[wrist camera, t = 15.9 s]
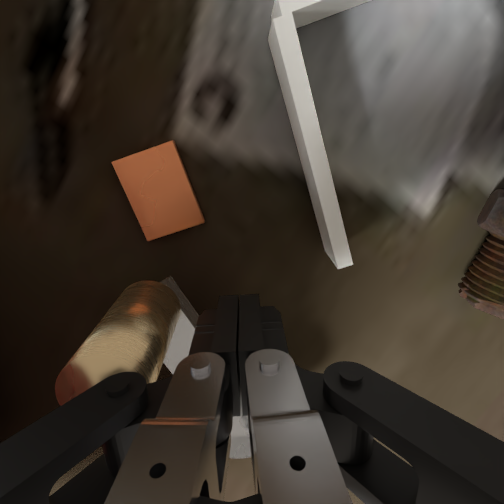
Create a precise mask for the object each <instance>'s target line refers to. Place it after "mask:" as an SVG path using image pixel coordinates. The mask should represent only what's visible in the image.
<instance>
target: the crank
mask: <svg viewBox="0 0 504 504" xmlns="http://www.w3.org/2000/svg"><path fill="white" fill-rule="evenodd" d="M198 317H199V315H198V313H197V312H196V310H195V309H194V308H193V306H192V305H191V303H190V302H189V300H188V299H187V298H186V296H185V295H184V293H183V292H182V291H181V289H180V288H179V286H178V285H177V283H176V282H175V281H174V279H173V278H172V276H169V277H167V278H165V279H164V280H162V281H160V282H157V281H153V280H142V281H137V282H135V283H132V284H131V285H129V286H128V287H127V288H126V289H125V290H124V291H123V292H122V294H121V295H120V296H119V297H118V299H117V300H116V301H115V303H114V304H113V305H112V306H111V308H110V309H109V310H108V312H107V313H106V314H105V315H104V317H103V318H102V319H101V321H100V322H99V323H98V324H97V326H96V327H95V328H94V329H93V331H92V332H91V333H90V335H89V336H88V337H87V338H86V340H85V341H84V342H83V344H82V345H81V346H80V347H79V349H78V350H77V351H76V353H75V354H74V355H73V356H72V358H71V359H70V360H69V361H68V363H67V364H66V365H65V367H64V368H63V369H62V370H61V372H60V373H59V375H58V377H57V379H56V383H55V395H56V398H57V401H58V403H59V405H60V406H62V405H63V404H65V403H66V402H68V401H70V400H71V399H73V398H75V397H76V396H78V395H79V394H81V393H83V392H84V391H86V390H87V389H89V388H91V387H92V386H94V385H96V384H97V383H99V382H100V381H102V380H104V379H105V378H107V377H109V376H111V375H114V374H117V373H121V372H136V373H139V374H141V375H142V376H144V378H145V380H146V384H149V383H152V382H156V381H157V378H158V375H159V373H160V370H161V367H162V364H163V363H164V364H165V365H166V367H167V368H168V369H169V370H170V372H171V373H172V374H174V372H175V369H176V367H177V365H178V364H179V362H180V361H181V360H183V359H184V358H186V357H187V356H188V355H189V351H190V347H191V343H192V339H193V335H194V332H195V328H196V324H197V320H198ZM248 457H251V451H250V441H249V425H248V416H243V414H242V400H241V409H240V416H234V417H233V424H232V431H231V448H230V455H229V458H248Z"/></svg>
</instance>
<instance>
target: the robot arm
mask: <svg viewBox="0 0 504 504" xmlns="http://www.w3.org/2000/svg"><path fill="white" fill-rule="evenodd" d="M241 400H242V414H243V416H248V425H249V441H250V451H251V460H252V470H253V480H254V489H255V495H253V496H250V497H247V498H244V499H241V500H238V501H234V502H225V501H224V495H225V487H226V479H227V471H228V463H229V455H230V448H231V431H232V424H233V417H234V416H240V409H241ZM374 437H375V438H376V439H378V440H379V441H380V442H382V443H383V444H385V445H386V446H387V447H389V448H390V449H392V450H393V451H394V452H396V453H397V454H399V455H400V456H401V457H403V458H404V459H405V460H407V461H408V462H409V463H410V464H411V465H412V466H410V465H409V464H407V463H406V462H405V461H403V460H402V459H400V458H399V457H398V456H396V455H395V454H393V453H392V452H391V451H389V450H388V449H386V448H385V447H384V446H382V445H381V444H379V443H378V442H377V441H375V440H374V439H373V438H374ZM101 445H102V448H103V452H104V454H102V455H101V456H100V457H99V458H97V459H96V460H95V461H94V462H92V463H91V464H90V465H89V466H87V467H86V468H85V469H84V470H82V471H81V472H80V473H79V474H77V475H76V476H75V477H74V478H72V479H71V480H70V481H69V482H67V483H66V484H65V485H64V486H62V487H61V488H60V489H59V490H57V491H56V492H55V493H54V494H52V495H51V496H49V493H50V491H51V489H52V487H53V485H54V484H55V482H56V481H57V480H58V479H59V478H60V477H61V476H62V475H64V474H65V473H66V472H67V471H69V470H70V469H71V468H73V467H74V466H75V465H76V464H78V463H79V462H80V461H82V460H83V459H84V458H86V457H87V456H88V455H89V454H91V453H92V452H93V451H95V450H96V449H97V448H98V447H100V446H101ZM347 488H348V489H349V490H350V491H352V492H353V493H354V494H355V495H356V496H357V497H358V498H359V499H360V500H362V501H363V502H364V503H365V504H504V442H503V441H501V440H499V439H497V438H495V437H493V436H492V435H490V434H488V433H486V432H484V431H482V430H481V429H479V428H477V427H475V426H473V425H471V424H470V423H468V422H466V421H464V420H462V419H461V418H459V417H457V416H455V415H453V414H451V413H450V412H448V411H446V410H444V409H442V408H440V407H439V406H437V405H435V404H433V403H431V402H429V401H428V400H426V399H424V398H422V397H420V396H418V395H417V394H415V393H413V392H411V391H409V390H408V389H406V388H404V387H402V386H400V385H398V384H397V383H395V382H393V381H391V380H389V379H387V378H386V377H384V376H382V375H380V374H378V373H376V372H375V371H373V370H371V369H369V368H367V367H365V366H363V365H361V364H358V363H354V362H347V361H343V362H336V363H333V364H331V365H330V366H328V367H327V368H326V370H325V371H324V374H321V373H316V372H311V371H307V370H304V369H302V368H300V367H299V366H297V365H296V364H294V361H293V359H292V358H291V356H290V355H289V353H288V348H287V343H286V338H285V333H284V329H283V324H282V319H281V314H280V312H279V311H278V310H277V309H276V308H275V307H274V306H263V307H260V303H259V294H248V295H240V307H239V296H238V295H228V296H219V301H218V307H217V309H206V310H205V311H204V312H203V313H202V314H201V315H200V316H199V317H198V320H197V324H196V328H195V332H194V335H193V339H192V343H191V347H190V351H189V355H188V356H187V357H186V358H184V359H183V360H181V361H180V362H179V364H178V365H177V367H176V369H175V372H174V374H173V375H172V376H170V377H168V378H166V379H163V380H159V381H156V382H152V383H149V384H146V380H145V378H144V376H142V375H141V374H139V373H136V372H121V373H117V374H114V375H111V376H109V377H107V378H105V379H104V380H102V381H100V382H99V383H97V384H96V385H94V386H92V387H91V388H89V389H87V390H86V391H84V392H83V393H81V394H79V395H78V396H76V397H75V398H73V399H71V400H70V401H68V402H66V403H65V404H63V405H62V406H60V407H58V408H57V409H55V410H53V411H52V412H50V413H49V414H47V415H45V416H44V417H42V418H41V419H39V420H37V421H36V422H34V423H32V424H31V425H29V426H28V427H26V428H24V429H23V430H21V431H19V432H18V433H16V434H15V435H13V436H11V437H10V438H8V439H7V440H5V441H3V442H2V443H0V504H353V503H352V501H351V498H350V495H349V493H348V490H347Z"/></svg>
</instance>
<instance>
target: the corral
mask: <svg viewBox="0 0 504 504" xmlns="http://www.w3.org/2000/svg"><path fill="white" fill-rule="evenodd" d="M369 1H371V0H275V1H274V5H273V10H272V14H271V21H272V24H271V28H270V32H269V36H268V42H269V46H270V50H271V53H272V57H273V61H274V64H275V68H276V72H277V75H278V79H279V83H280V87H281V90H282V94H283V98H284V101H285V105H286V109H287V113H288V116H289V120H290V124H291V127H292V131H293V135H294V138H295V142H296V146H297V150H298V153H299V157H300V161H301V164H302V168H303V172H304V175H305V179H306V183H307V187H308V190H309V194H310V198H311V201H312V205H313V209H314V212H315V216H316V220H317V224H318V227H319V231H320V235H321V238H322V242H323V246H324V250H325V252H326V253H327V255H328V256H329V257H330V259H331V260H332V262H333V263H334V265H335V266H336V267H337V269H341V268H344V267H347V266H351V265H353V262H352V258H351V254H350V250H349V245H348V241H347V237H346V233H345V229H344V225H343V221H342V217H341V212H340V208H339V204H338V200H337V196H336V192H335V188H334V184H333V179H332V175H331V171H330V167H329V163H328V159H327V155H326V151H325V146H324V142H323V138H322V134H321V130H320V126H319V122H318V118H317V113H316V109H315V105H314V101H313V97H312V93H311V89H310V85H309V80H308V76H307V72H306V68H305V64H304V60H303V56H302V52H301V48H300V43H299V39H298V35H297V31H296V29H297V28H299V27H302V26H305V25H307V24H310V23H313V22H315V21H318V20H321V19H323V18H326V17H329V16H331V15H334V14H337V13H339V12H342V11H345V10H347V9H350V8H353V7H355V6H358V5H361V4H363V3H366V2H369Z"/></svg>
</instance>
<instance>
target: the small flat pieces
mask: <svg viewBox="0 0 504 504" xmlns="http://www.w3.org/2000/svg"><path fill="white" fill-rule="evenodd" d="M111 163H112V165H113V167H114V169H115V171H116V174H117V176H118V178H119V180H120V182H121V184H122V187H123V189H124V191H125V193H126V195H127V197H128V200H129V202H130V204H131V206H132V208H133V210H134V213H135V215H136V217H137V219H138V221H139V224H140V226H141V228H142V230H143V232H144V234H145V237H146V239H147V241H150V240H153V239H156V238H159V237H162V236H165V235H168V234H171V233H174V232H177V231H180V230H184V229H187V228H190V227H193V226H196V225H199V224H202V223H204V222H205V218H204V216H203V213H202V211H201V208H200V206H199V203H198V200H197V198H196V195H195V193H194V190H193V188H192V185H191V182H190V180H189V177H188V175H187V172H186V170H185V167H184V164H183V162H182V159H181V157H180V154H179V152H178V149H177V146H176V144H175V141H174V140H172V141H169V142H166V143H163V144H161V145H158V146H155V147H152V148H149V149H147V150H144V151H141V152H138V153H135V154H133V155H130V156H127V157H124V158H121V159H119V160H116V161H113V162H111Z"/></svg>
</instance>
